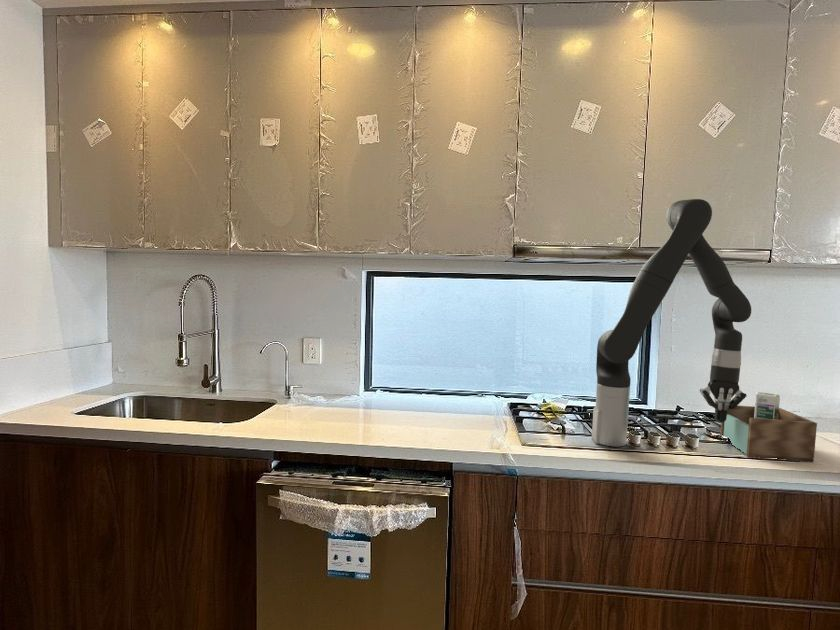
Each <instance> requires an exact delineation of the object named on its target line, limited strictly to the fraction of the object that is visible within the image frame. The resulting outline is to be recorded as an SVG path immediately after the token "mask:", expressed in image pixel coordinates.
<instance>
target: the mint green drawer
mask: <svg viewBox="0 0 840 630" xmlns="http://www.w3.org/2000/svg"><path fill="white" fill-rule="evenodd" d="M748 429H749V425H748V424H746V423H745V422H743V421H741V420H739V419H737V418H735V417H733V416H731V415H729V414H727V417H726V421H725V422H724V434H723V436H725V437H727V438H729V439H730V441H731V443H732V445H734V446H735V447H736V448H735V447H734V446H733V447H734V448H735V449H737V448H738V449H740V450H741V451H740V450H739V451H740V452H742V453H743V452H744V453H743V454H745V455H746V453H747V441H748ZM732 445H731V446H732ZM738 449H737V450H738Z"/></svg>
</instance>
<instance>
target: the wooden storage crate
mask: <svg viewBox="0 0 840 630" xmlns="http://www.w3.org/2000/svg"><path fill="white" fill-rule="evenodd" d="M727 414H729V415H731V416H733V417H735V418H737V419H739V420H741V421H743V422H745V423H746V424H748V425H749V429H748V441H747V453H746V454H745V456H746V455H747V456H748V457H752V459H761V458H777V459H786V460H785V461H788V460H798V461H797V462H803V463H804V462H805V463H814V459H815V449H816V441H817V440H816V437H817V428H818V427H817V426H818V423H817V422H815V421H814V420H810V419H809V418H808V419H807V418H805V417H803V416H800V415H798V414H796V413H793V412H792V411H791V412H790V411H788V410H786V409H783V408H781V407H779V414H778V420H776V419H761V418H754V414H755V405H754V406H753V405H752V406H751V405H740V404H738V405H737V406H736V407H735V408H734V409H729V410H728V411H727ZM724 422H725V421H724ZM723 434H724V423H721V422H720V431H719V436H720V435H723ZM747 456H746V457H747ZM748 457H747V458H748ZM753 457H755V458H753ZM758 457H760V458H758Z"/></svg>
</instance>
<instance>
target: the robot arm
mask: <svg viewBox="0 0 840 630" xmlns="http://www.w3.org/2000/svg"><path fill="white" fill-rule="evenodd" d="M712 217H713V209H712V206H711V204H710V203H709V202H708V201H707V200H705V199H701V198H692V199H681V200H677V201H675V202H673V203H671V204H670V206H669V207H668V209H667V211H666V222H667V224H668V226H669V227H670V230H672V231H671V234H670V235H669V237H668V239H666V241H665V243H663V244H662V245H661V247H660V248H658V250H657V251H656V252H655V253H654V254H653V255H651V256H650V257H649V259H648V260H647V261H646V262H645V263H644V264H643V265H642V267H641V268H640V270H639V272H638V274H637V276H636V277H635V279H634V281H633V284H632V286H631V288H630V291H629V295H628V298H627V302H626V305H625V308H624V311H623V313H622V315H621V317H620V319H619V320H618V322H617V323H616V325H615V327H614V328H613V329H609V330H606V331H605V332H603V333H602V334H601V335H600V337H599V338H598V340H597V341H598V342H597V346H596V347H597V348H596V363H595V365H596V368H595V371H596V379H597V380H596V393H595V406H594V407H593V412H592V427H591V439H592V440H593V442H594V443H595V444H598V445H603V446H606V447H607V446H608V447H623V446H626V445H627V438H628V422H629V409H630V408H629V406H630V392H631V375H630V371H629V361H630V360H631V359H632V358H633V357H634V355H635V354H636V351H637V349H638V346H639V345H640V342H641V340H642V337H643V335H644V333H645V330H646V328H647V326H648V325H649V323H650V321H651V319H652V318H653V316H654V315H655V313H656V312H657V310H658V308H659V307H660V305H661V303H662V301H663V300H664V298H665V297H666V295H667V293H668V292H669V290H670V288H671V286H672V284H673V282H674V281H675V278H676V277H677V275H678V274H679V272H680V269H681V268H682V267H683V264H684V263H685V261H686V259H687V257H688V256H690V258H691V260H692V262H693V264H694V266H695V267H696V269H697V271H698V273H699V275H700V277H701V280H702V281H703V282H702V283H704V286H705V289H706V290H707V292H708V293H709V294H710V295H711V296H713V297H715V298H717V299H716V300H715V302H714V303H713V305H712V308H711V319H712V324H713V325H712V326H713V330H714V333H715V334H714V344H713V345H714V346H713V350H712V354H711V365H710V372H709V381H708V384H707V386H706V387H704V388H700V389H699V393H700V394H701V396H702V397H703V399H704V400H705V401H706V403H707V405H708V406H710V407H712V408H714V416H713V417H714V420H715V421H716V422H717V423H720V424H721V423H724V421H726V417H727V411H728V410H729V409H734V408H735V407H736V406H737V405H740V403H741V402H742V401H743V400H745V398H747V396H748V395H747V393H744V392H743V391H742V390H741V389H740V385H739V382H740V375H741V365H742V345H743V333H742V332H741V331H739V330H738V329H736V328H735V327H734V326H735V325H734V323H744V322H746V321H747V320H749V318H751V314H752V305H751V303H750V300H749V298H747V296H746V295H745V294H744V293H743V291H742V290H741V289H740V288H739V287H738V286H737V284H735V282H734V280H733V277H732V275H731V273H730V271H729V269H728V267H727V266H726V263H725V262H724V260H723V259H722V257H721V256H720V255H719V254H718V253H717V252H716V251H715V250H714V248H713V247H712V246H711V245H710V244H709V242H708V241H707V240H706V239H705V236H704V235H703V233H705V231H706V230H707V227H708V226H709V225H710V223H711V220H712ZM711 394H712V395H713V398H712V397H711Z"/></svg>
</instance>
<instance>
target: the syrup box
mask: <svg viewBox="0 0 840 630" xmlns="http://www.w3.org/2000/svg"><path fill="white" fill-rule="evenodd" d="M780 401H781V399H780V394H779V393H769V392H763V391H762V392H760V391H756V392H755V404H754V406H755V414H754V418H761V419H776V420H778V414H779V408H780V403H781V402H780Z"/></svg>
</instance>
